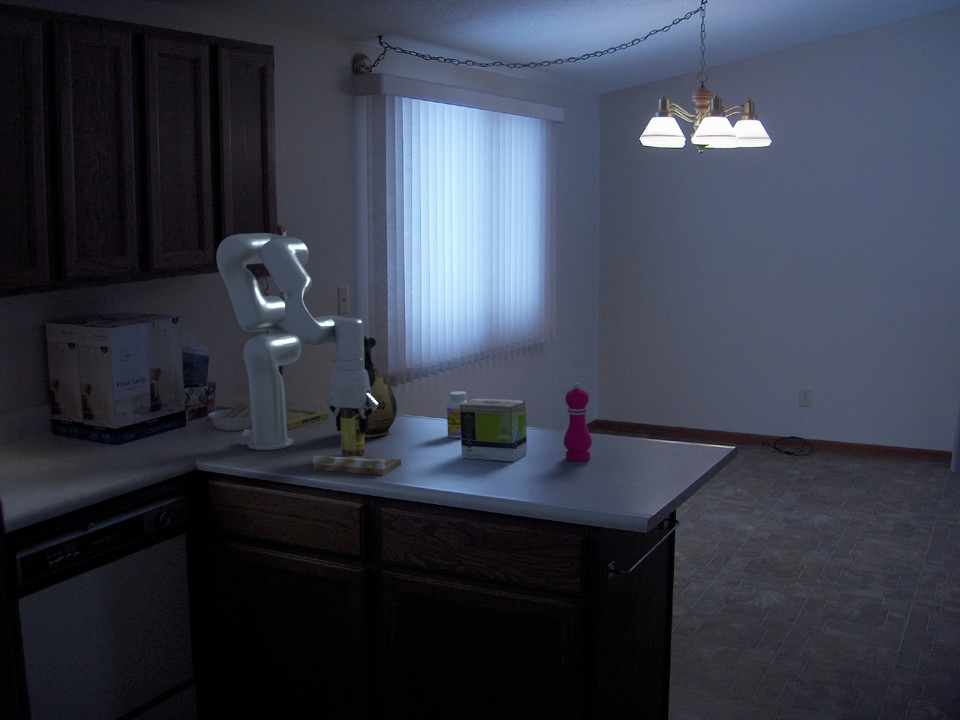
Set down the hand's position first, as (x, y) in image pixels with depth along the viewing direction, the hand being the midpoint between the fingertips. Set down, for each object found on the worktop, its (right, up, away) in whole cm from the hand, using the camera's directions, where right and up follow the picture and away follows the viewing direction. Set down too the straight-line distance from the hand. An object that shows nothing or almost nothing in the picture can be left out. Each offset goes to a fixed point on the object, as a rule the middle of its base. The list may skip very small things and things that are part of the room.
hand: (352, 430), depth 268 cm
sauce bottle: (0, -7, +1) cm, 7 cm away
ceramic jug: (+2, -3, +26) cm, 26 cm away
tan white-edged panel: (+3, -9, -11) cm, 14 cm away
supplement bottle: (+28, -3, +21) cm, 35 cm away
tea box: (+38, -7, -3) cm, 39 cm away
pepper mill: (+59, -7, -9) cm, 60 cm away
